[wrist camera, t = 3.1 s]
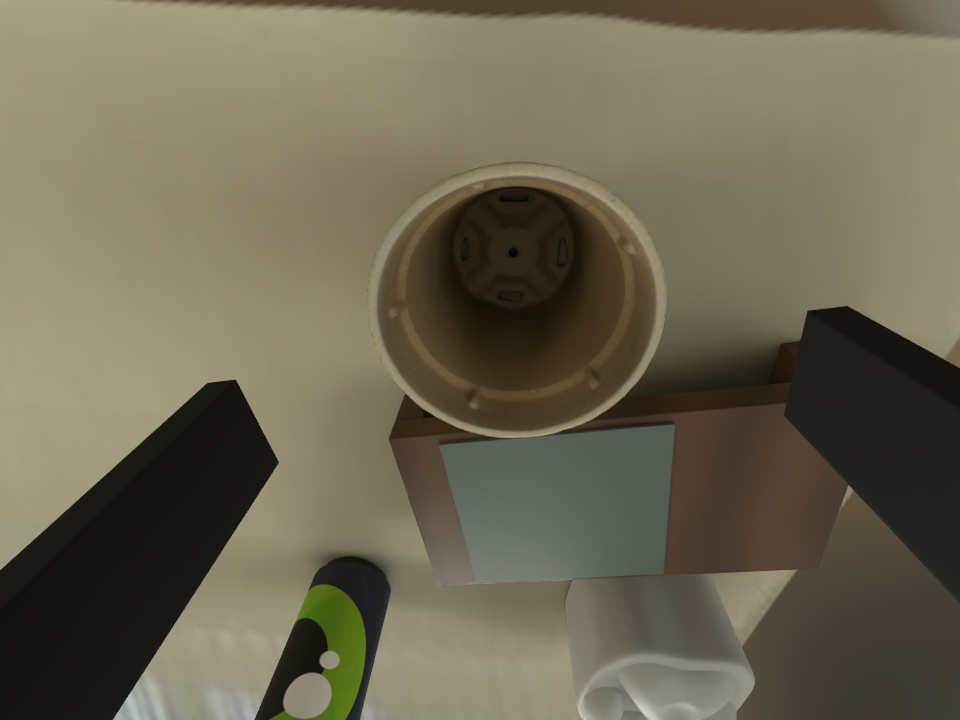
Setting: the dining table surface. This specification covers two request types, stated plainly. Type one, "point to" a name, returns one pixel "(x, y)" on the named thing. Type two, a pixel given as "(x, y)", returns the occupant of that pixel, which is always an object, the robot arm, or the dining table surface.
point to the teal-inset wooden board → (624, 490)
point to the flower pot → (517, 324)
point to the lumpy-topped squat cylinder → (654, 649)
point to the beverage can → (330, 646)
